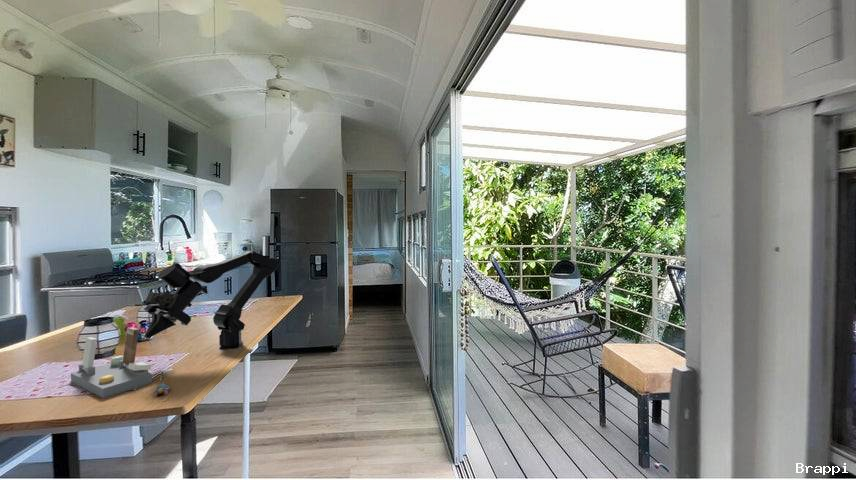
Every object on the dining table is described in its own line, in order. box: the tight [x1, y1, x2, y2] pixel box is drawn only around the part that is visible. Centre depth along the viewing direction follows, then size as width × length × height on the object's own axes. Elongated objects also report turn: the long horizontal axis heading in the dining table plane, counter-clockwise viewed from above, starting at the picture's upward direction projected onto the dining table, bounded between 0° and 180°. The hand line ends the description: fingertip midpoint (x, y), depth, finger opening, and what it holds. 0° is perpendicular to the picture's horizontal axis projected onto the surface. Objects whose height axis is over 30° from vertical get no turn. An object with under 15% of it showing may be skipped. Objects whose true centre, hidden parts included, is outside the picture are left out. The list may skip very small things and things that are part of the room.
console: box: [70, 360, 153, 399], centre depth 102 cm, size 11×22×4 cm, turn 61°
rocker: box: [128, 361, 152, 371], centre depth 102 cm, size 4×4×1 cm
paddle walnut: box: [123, 326, 140, 365], centre depth 106 cm, size 1×4×11 cm, turn 61°
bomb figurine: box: [152, 375, 171, 399], centre depth 94 cm, size 8×8×6 cm
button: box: [110, 354, 124, 366], centre depth 109 cm, size 3×3×2 cm
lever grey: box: [81, 336, 98, 369], centre depth 103 cm, size 1×4×8 cm, turn 61°
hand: (145, 337), depth 109 cm, fingers closed
